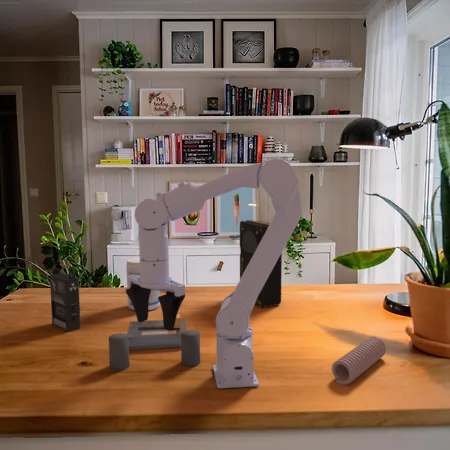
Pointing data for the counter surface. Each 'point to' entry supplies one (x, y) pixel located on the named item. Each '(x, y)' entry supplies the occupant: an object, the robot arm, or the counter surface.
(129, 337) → the panel
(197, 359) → the post right
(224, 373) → the robot arm
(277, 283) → the black upright block
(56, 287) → the geiger counter
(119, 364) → the post left
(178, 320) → the block
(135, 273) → the supplement tub
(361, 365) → the coil
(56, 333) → the counter surface
